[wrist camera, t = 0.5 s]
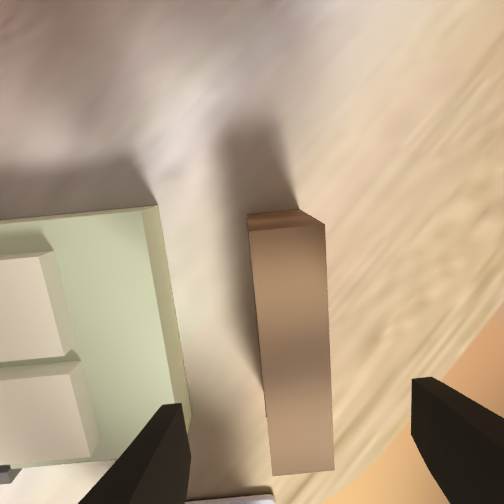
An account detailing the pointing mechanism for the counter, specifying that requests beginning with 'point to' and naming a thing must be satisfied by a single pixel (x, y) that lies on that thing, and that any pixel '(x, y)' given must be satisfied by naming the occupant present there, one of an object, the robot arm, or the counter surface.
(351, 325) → the counter surface
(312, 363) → the brown wooden block
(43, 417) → the tile
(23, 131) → the counter surface
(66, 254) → the plate
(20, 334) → the tile
